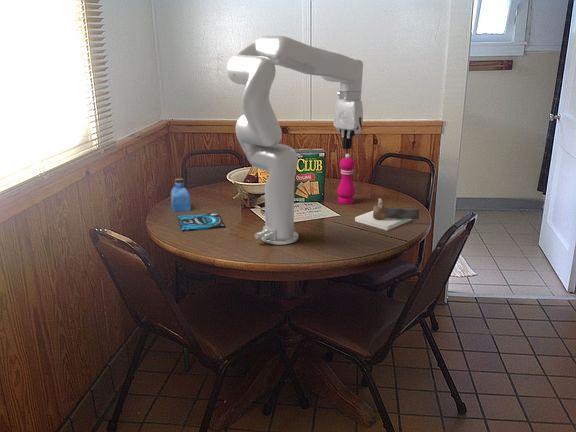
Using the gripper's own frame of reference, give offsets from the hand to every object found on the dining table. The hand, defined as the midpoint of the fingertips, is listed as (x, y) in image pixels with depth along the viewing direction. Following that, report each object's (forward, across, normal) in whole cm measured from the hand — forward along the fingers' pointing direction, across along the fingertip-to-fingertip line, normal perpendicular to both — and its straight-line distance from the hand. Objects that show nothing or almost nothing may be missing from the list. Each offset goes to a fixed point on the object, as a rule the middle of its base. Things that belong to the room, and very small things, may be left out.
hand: (346, 148), depth 192 cm
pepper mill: (+26, -12, +16) cm, 32 cm away
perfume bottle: (+27, -50, -38) cm, 68 cm away
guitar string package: (+28, -31, -42) cm, 59 cm away
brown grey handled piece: (+24, +17, +9) cm, 31 cm away
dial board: (+26, +13, +8) cm, 30 cm away
